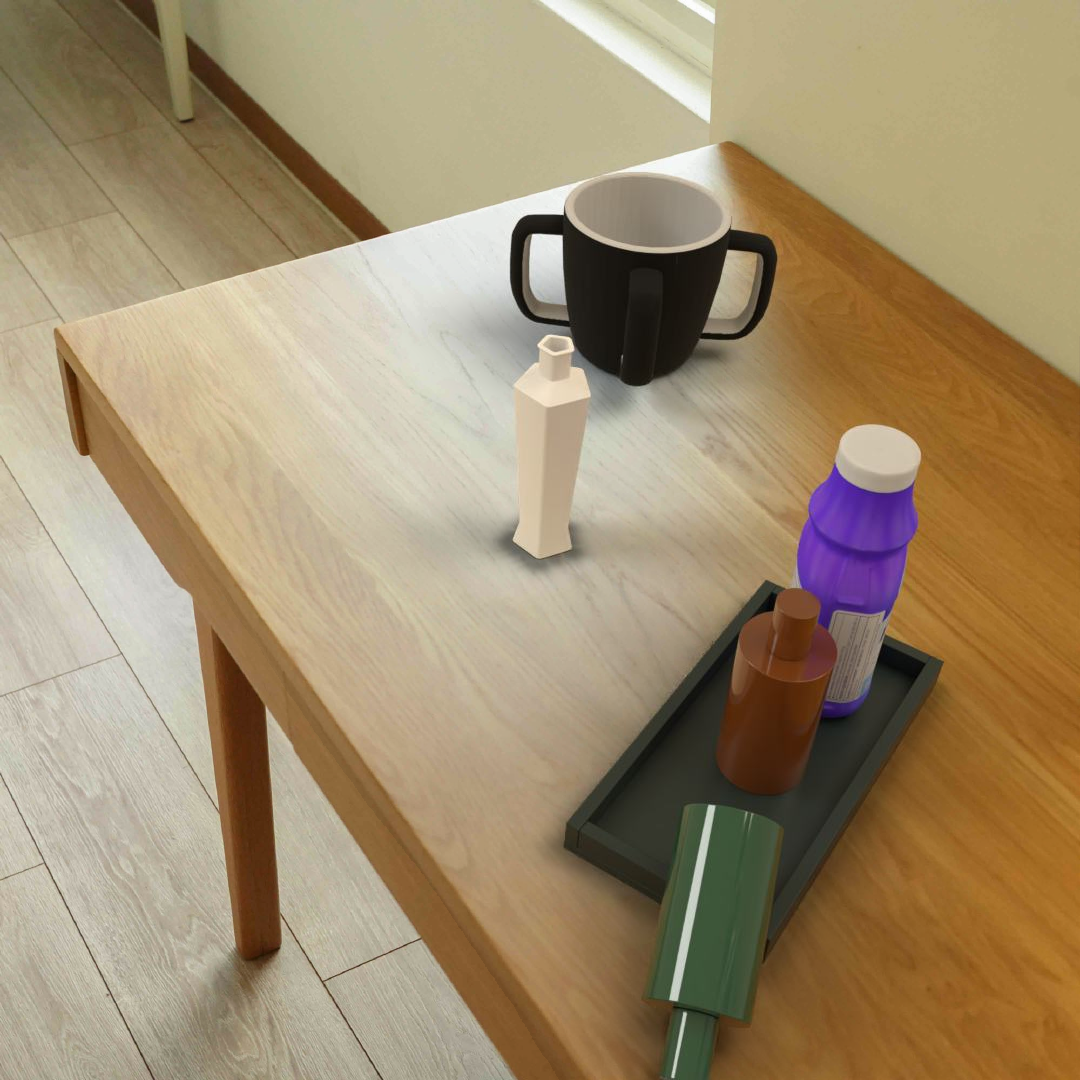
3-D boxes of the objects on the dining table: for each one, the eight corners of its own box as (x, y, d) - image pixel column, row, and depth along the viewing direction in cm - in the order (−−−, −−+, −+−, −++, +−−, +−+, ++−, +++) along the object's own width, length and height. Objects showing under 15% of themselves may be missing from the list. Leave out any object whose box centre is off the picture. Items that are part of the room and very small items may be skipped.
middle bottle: (820, 751, 75) (866, 595, 67) (781, 810, 72) (823, 654, 64) (740, 711, 77) (775, 555, 69) (698, 767, 74) (730, 610, 66)
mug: (779, 370, 104) (807, 230, 96) (612, 434, 97) (628, 289, 89) (649, 274, 114) (665, 140, 106) (489, 326, 106) (493, 186, 99)
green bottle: (806, 837, 64) (762, 1104, 59) (729, 837, 68) (681, 1088, 63) (736, 801, 61) (683, 1077, 56) (659, 804, 65) (604, 1063, 60)
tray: (935, 685, 80) (944, 661, 78) (763, 964, 65) (770, 940, 64) (760, 603, 84) (766, 578, 83) (563, 847, 70) (565, 822, 68)
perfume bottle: (502, 557, 86) (510, 362, 76) (514, 513, 90) (523, 321, 80) (572, 567, 86) (590, 372, 76) (582, 523, 89) (600, 331, 79)
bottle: (866, 737, 76) (942, 499, 64) (765, 720, 76) (823, 481, 65) (865, 645, 81) (936, 411, 70) (771, 630, 82) (825, 396, 70)
